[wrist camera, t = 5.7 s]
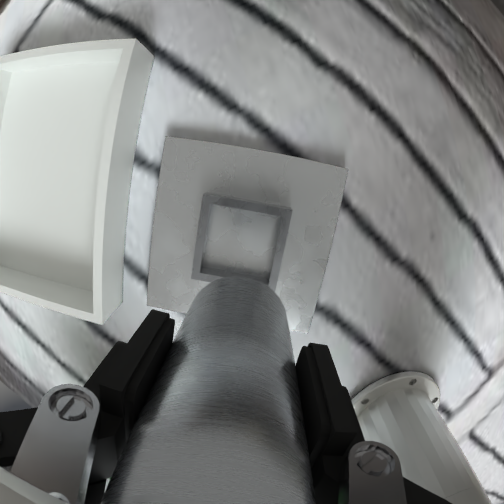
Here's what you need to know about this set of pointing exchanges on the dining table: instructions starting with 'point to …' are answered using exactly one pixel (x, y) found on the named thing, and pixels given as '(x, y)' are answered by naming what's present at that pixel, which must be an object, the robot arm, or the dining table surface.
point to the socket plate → (242, 224)
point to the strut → (221, 410)
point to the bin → (69, 172)
